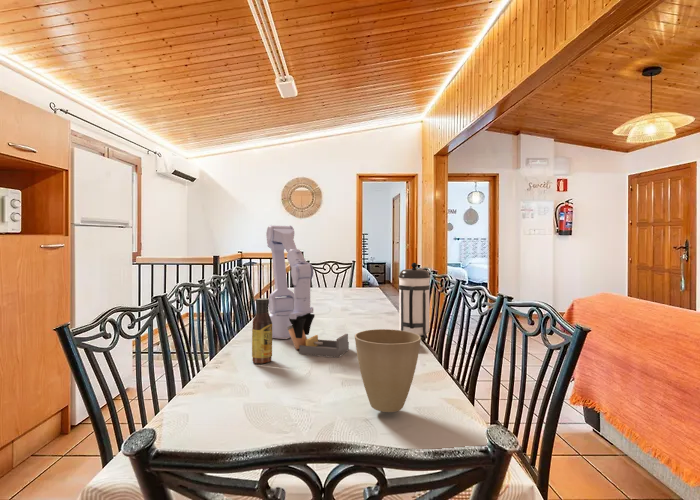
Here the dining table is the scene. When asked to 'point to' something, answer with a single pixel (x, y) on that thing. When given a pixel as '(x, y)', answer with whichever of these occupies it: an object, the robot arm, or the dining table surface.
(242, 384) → the dining table surface
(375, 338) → the plant pot
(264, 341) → the sauce bottle
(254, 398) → the dining table surface
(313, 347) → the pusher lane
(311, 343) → the tan pusher block
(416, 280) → the coffee press
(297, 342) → the jar
